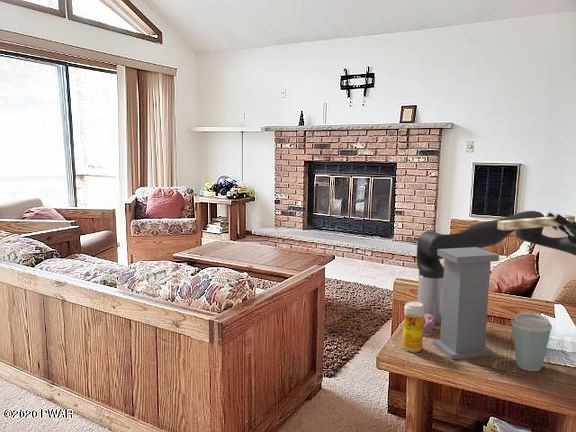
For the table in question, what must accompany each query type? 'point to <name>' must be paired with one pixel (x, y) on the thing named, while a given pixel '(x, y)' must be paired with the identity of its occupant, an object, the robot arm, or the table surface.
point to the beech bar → (530, 223)
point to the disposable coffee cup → (530, 339)
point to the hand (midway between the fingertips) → (551, 216)
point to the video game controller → (428, 323)
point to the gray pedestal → (465, 302)
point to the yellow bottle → (413, 326)
